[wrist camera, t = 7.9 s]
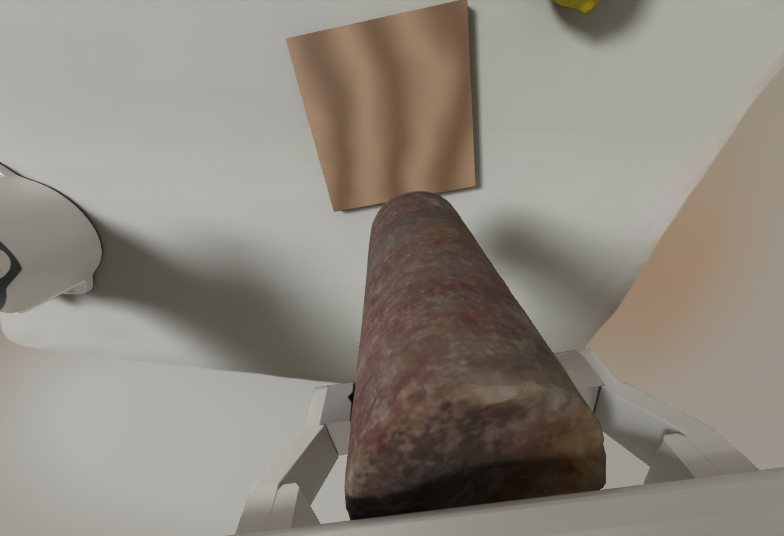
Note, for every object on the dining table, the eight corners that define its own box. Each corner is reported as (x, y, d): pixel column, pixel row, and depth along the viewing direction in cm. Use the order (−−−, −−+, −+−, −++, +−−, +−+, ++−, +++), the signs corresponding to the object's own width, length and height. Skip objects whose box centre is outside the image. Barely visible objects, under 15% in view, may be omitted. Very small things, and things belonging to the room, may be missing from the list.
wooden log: (355, 203, 24) (286, 469, 6) (443, 169, 23) (647, 374, 5) (389, 279, 28) (405, 588, 10) (467, 252, 26) (639, 543, 9)
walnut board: (335, 208, 40) (334, 211, 38) (289, 41, 31) (285, 38, 30) (472, 183, 38) (475, 185, 37) (463, 3, 30) (467, -2, 29)
